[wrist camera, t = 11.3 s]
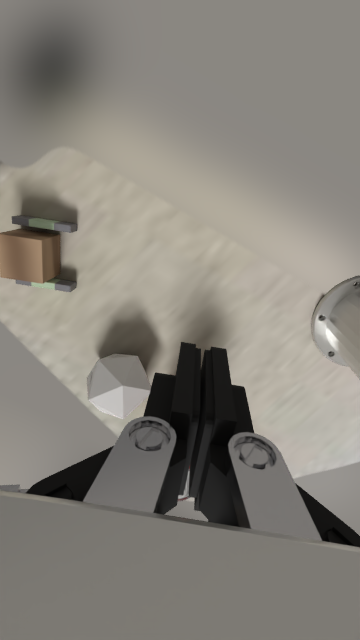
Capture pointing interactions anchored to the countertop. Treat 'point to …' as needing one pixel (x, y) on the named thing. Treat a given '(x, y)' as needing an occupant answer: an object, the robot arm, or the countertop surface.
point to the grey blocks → (52, 225)
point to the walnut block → (29, 255)
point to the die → (118, 384)
